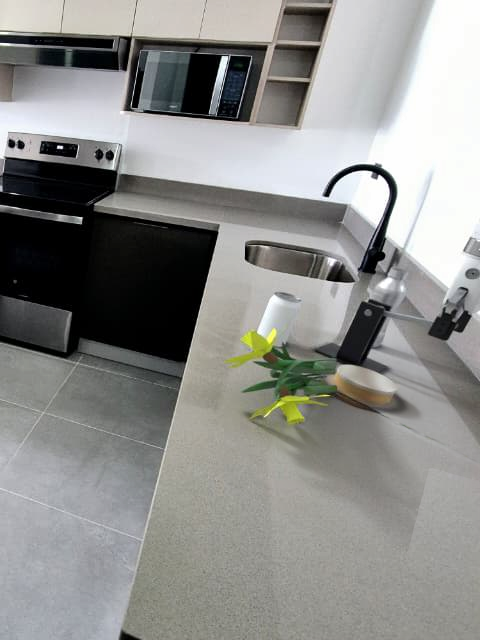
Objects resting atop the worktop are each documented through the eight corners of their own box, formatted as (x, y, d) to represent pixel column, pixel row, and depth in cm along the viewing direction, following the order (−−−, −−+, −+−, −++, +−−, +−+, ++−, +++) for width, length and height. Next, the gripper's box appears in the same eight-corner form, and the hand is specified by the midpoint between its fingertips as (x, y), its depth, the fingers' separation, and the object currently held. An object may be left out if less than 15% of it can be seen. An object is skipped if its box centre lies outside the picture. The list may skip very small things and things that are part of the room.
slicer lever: (456, 331, 101) (460, 320, 100) (448, 335, 98) (452, 324, 97) (369, 313, 112) (372, 302, 112) (359, 316, 109) (362, 305, 109)
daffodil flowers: (377, 417, 94) (316, 429, 71) (292, 417, 105) (214, 428, 81) (363, 328, 97) (299, 312, 73) (281, 337, 107) (203, 326, 84)
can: (279, 352, 115) (299, 304, 110) (251, 340, 119) (268, 294, 114) (287, 344, 120) (306, 298, 115) (259, 334, 123) (276, 289, 118)
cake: (386, 387, 106) (394, 371, 104) (411, 422, 93) (421, 405, 92) (313, 368, 109) (320, 353, 108) (328, 400, 97) (337, 383, 95)
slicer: (385, 371, 113) (416, 311, 107) (369, 379, 108) (401, 317, 102) (330, 347, 122) (355, 291, 115) (313, 354, 116) (339, 295, 110)
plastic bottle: (348, 344, 125) (384, 268, 117) (349, 336, 130) (383, 263, 122) (378, 353, 122) (417, 277, 114) (378, 345, 127) (415, 271, 119)
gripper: (505, 262, 85) (454, 349, 92) (527, 255, 95) (480, 334, 102) (452, 248, 91) (408, 332, 98) (478, 243, 101) (436, 319, 108)
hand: (444, 333), depth 100 cm, fingers open, 9 cm apart
